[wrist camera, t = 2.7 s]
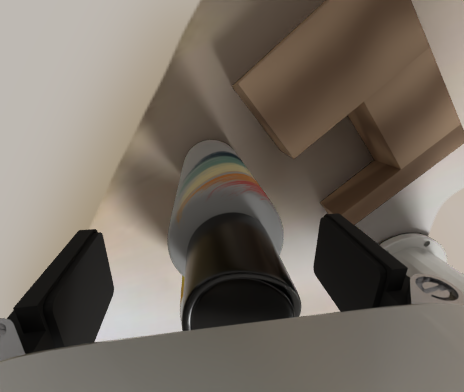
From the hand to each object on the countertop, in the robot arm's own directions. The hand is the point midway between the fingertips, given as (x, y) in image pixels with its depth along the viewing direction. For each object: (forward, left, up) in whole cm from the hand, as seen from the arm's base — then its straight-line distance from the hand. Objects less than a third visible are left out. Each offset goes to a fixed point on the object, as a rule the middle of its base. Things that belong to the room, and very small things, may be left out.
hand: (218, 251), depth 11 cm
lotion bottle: (-1, 0, -16) cm, 16 cm away
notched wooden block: (-5, -14, -16) cm, 22 cm away
